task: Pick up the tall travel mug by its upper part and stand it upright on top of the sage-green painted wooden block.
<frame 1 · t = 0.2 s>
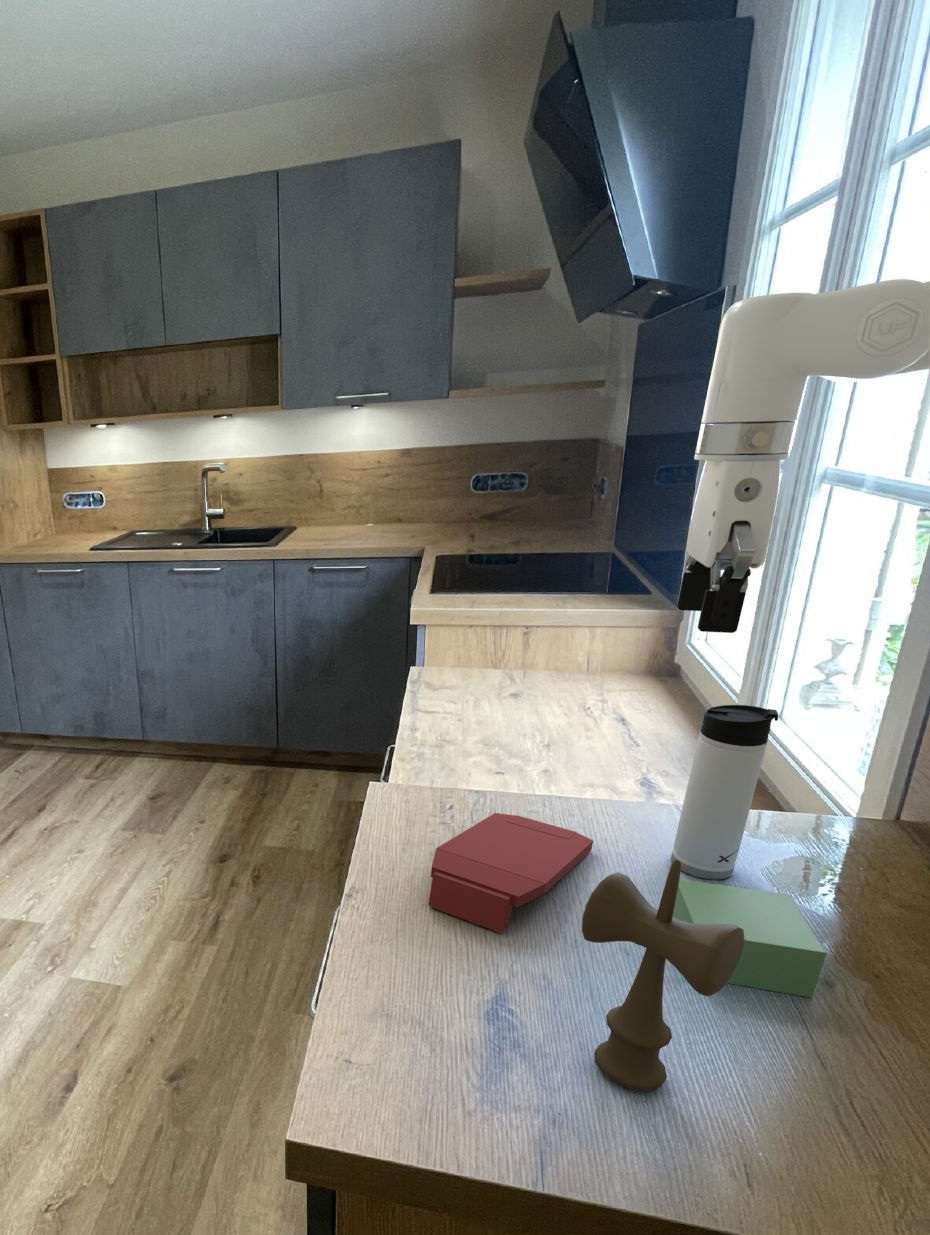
hand: (704, 620, 81), 30 cm above the countertop, tool pointing down, fingers open, 9 cm apart
green block: (733, 955, 78), on the countertop
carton: (507, 874, 94), on the countertop
travel mug: (702, 868, 93), on the countertop
kendama: (627, 1073, 65), on the countertop
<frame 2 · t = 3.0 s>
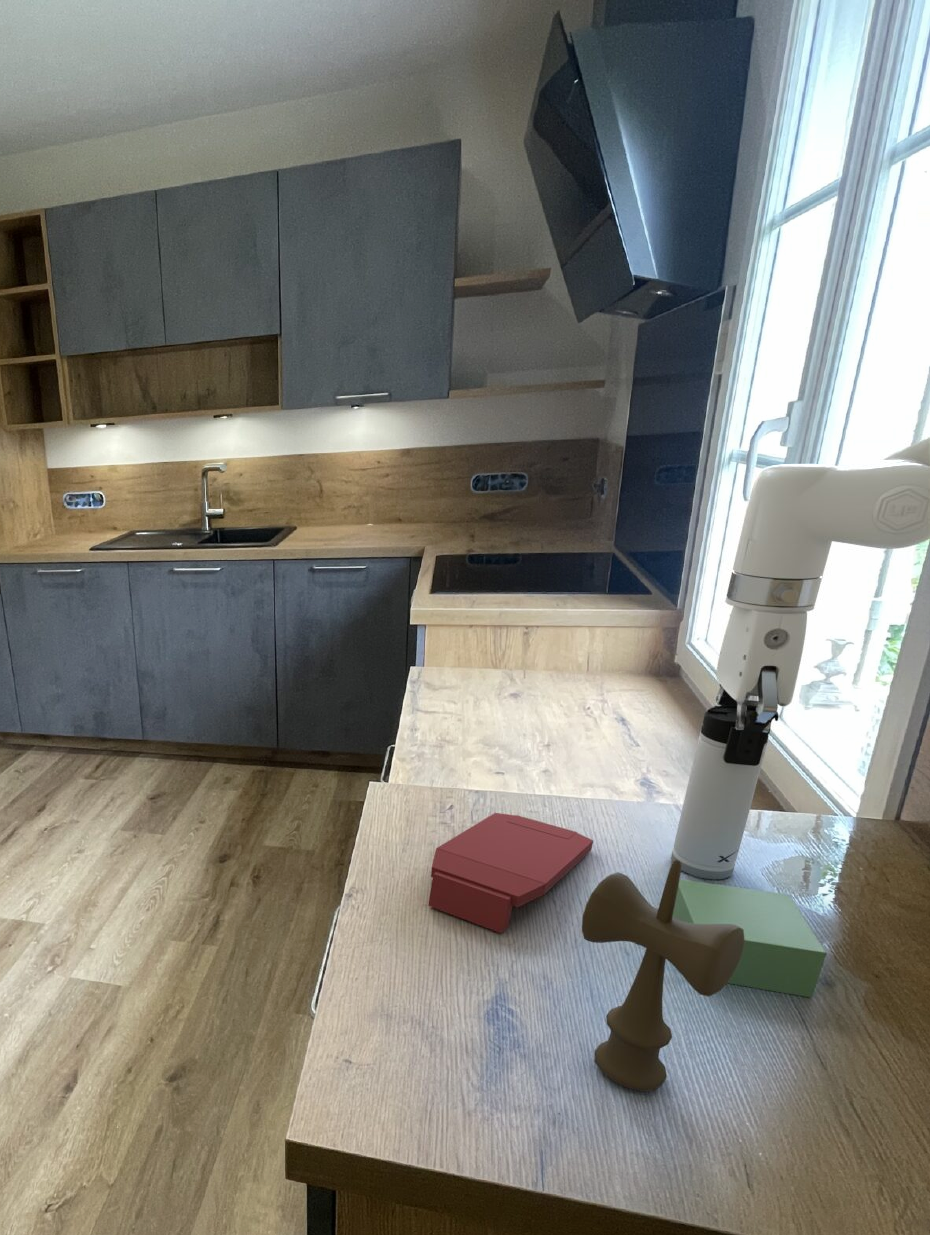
hand: (731, 750, 88), 15 cm above the countertop, tool pointing down, fingers closed on travel mug, 6 cm apart
travel mug: (702, 868, 93), on the countertop, touching gripper
everything else where it was.
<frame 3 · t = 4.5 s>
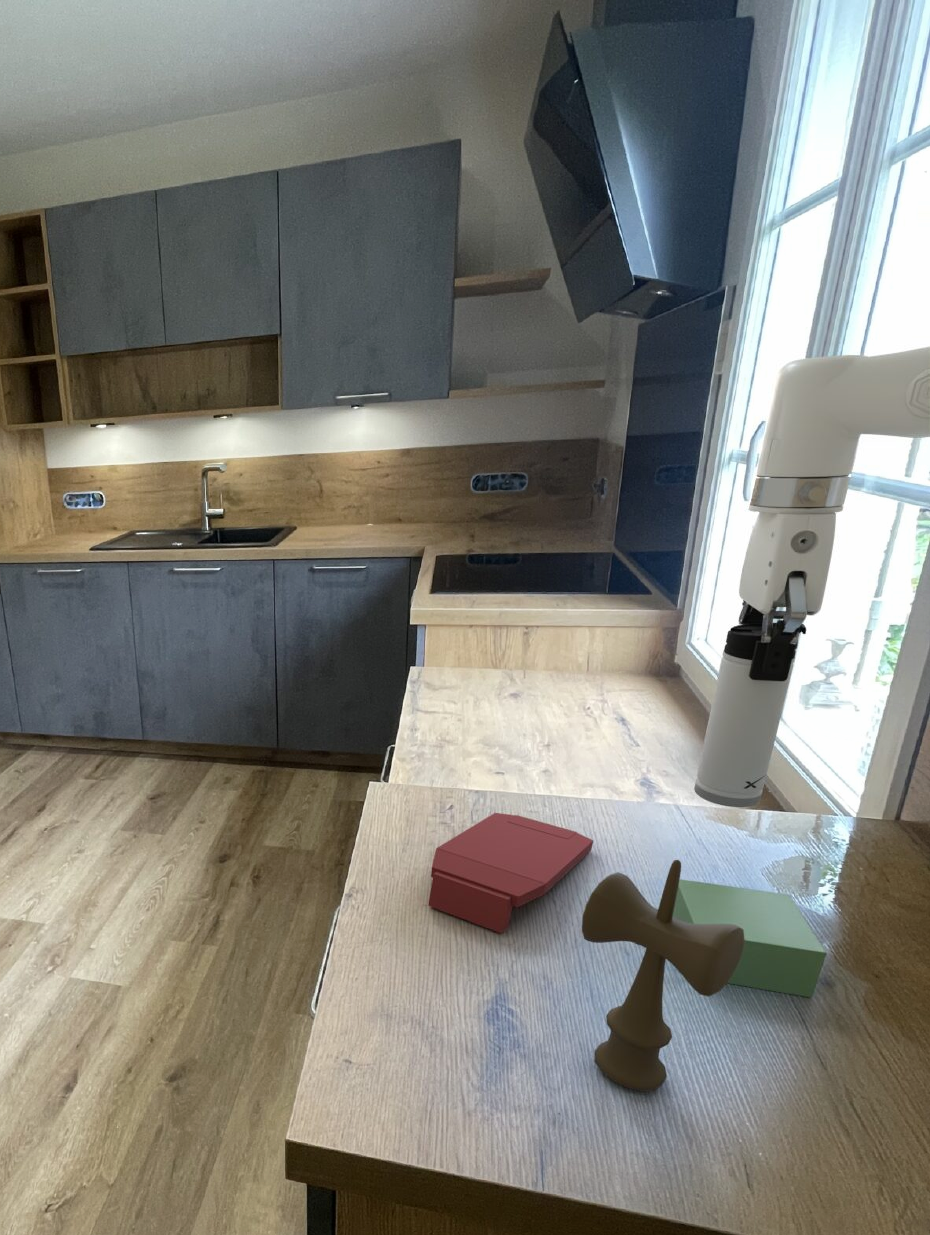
hand: (757, 668, 84), 25 cm above the countertop, tool pointing down, fingers closed on travel mug, 6 cm apart
travel mug: (727, 797, 89), point 9 cm above the countertop, touching gripper
everything else where it was.
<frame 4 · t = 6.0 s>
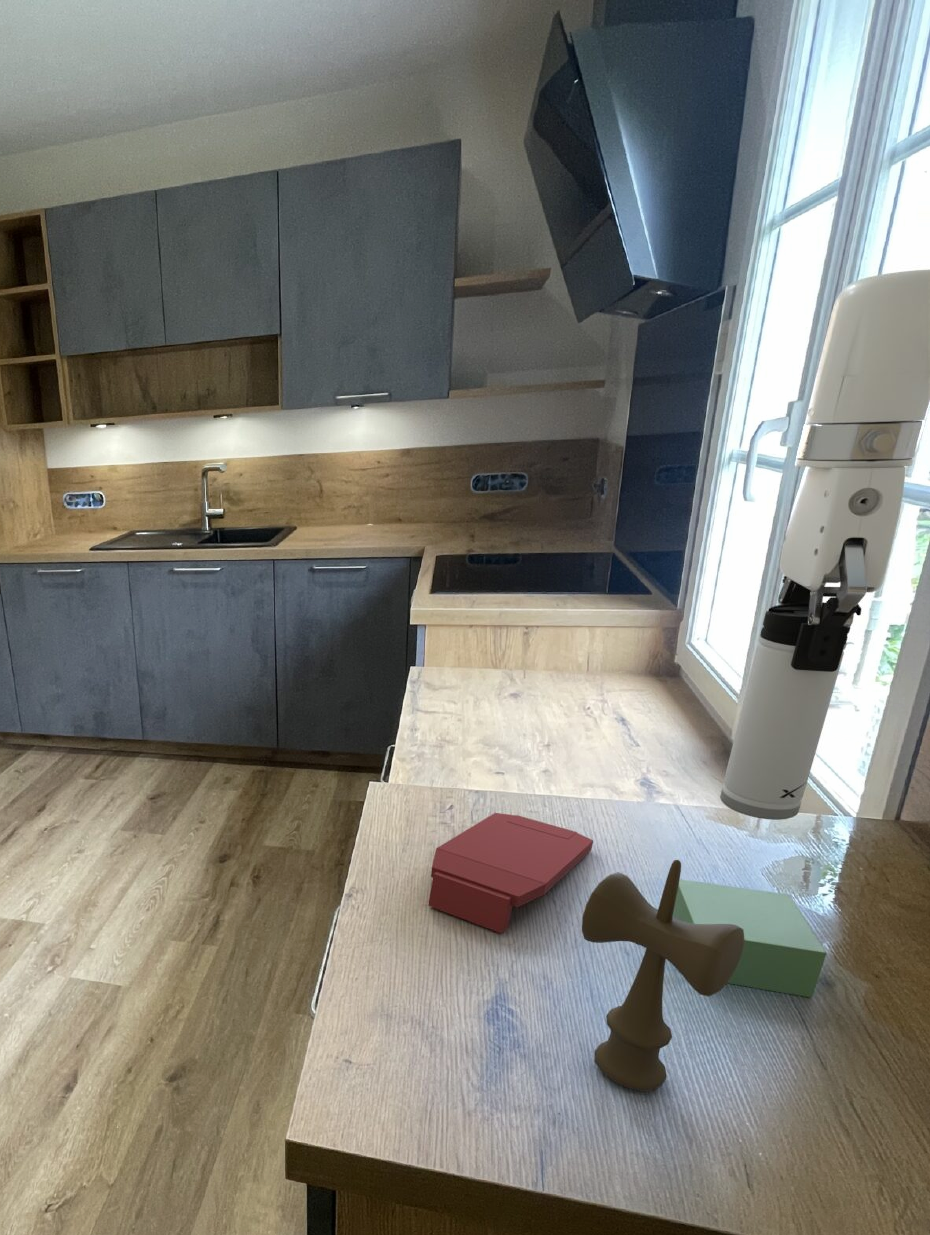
hand: (800, 657, 71), 29 cm above the countertop, tool pointing down, fingers closed on travel mug, 6 cm apart
travel mug: (759, 808, 77), point 14 cm above the countertop, touching gripper
everything else where it was.
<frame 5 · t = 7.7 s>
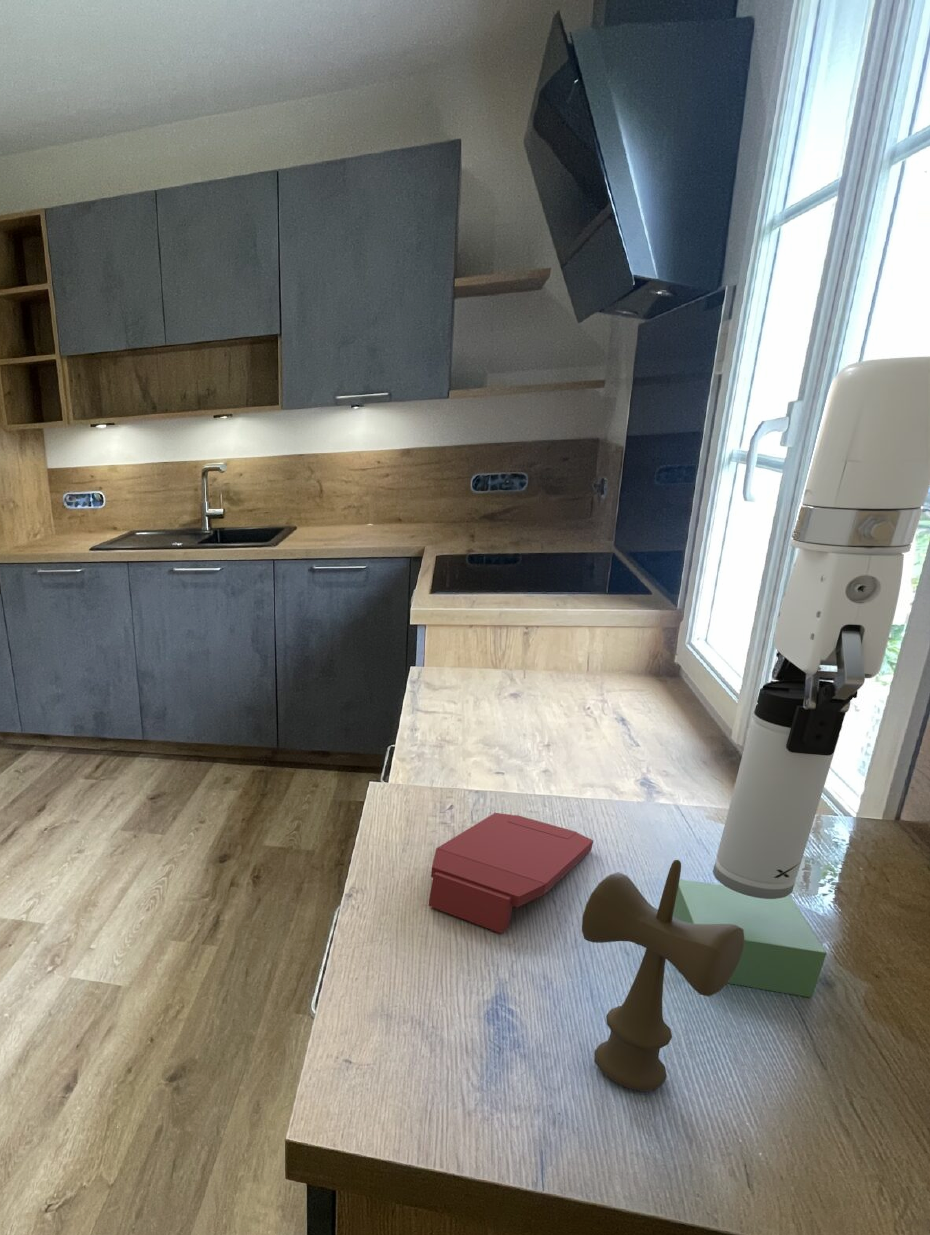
hand: (794, 736, 69), 23 cm above the countertop, tool pointing down, fingers closed on travel mug, 6 cm apart
travel mug: (752, 884, 75), point 8 cm above the countertop, touching gripper
everything else where it was.
when the fingers open (20 cm above the countertop, at t = 9.1 s): travel mug stays where it is, resting on green block.
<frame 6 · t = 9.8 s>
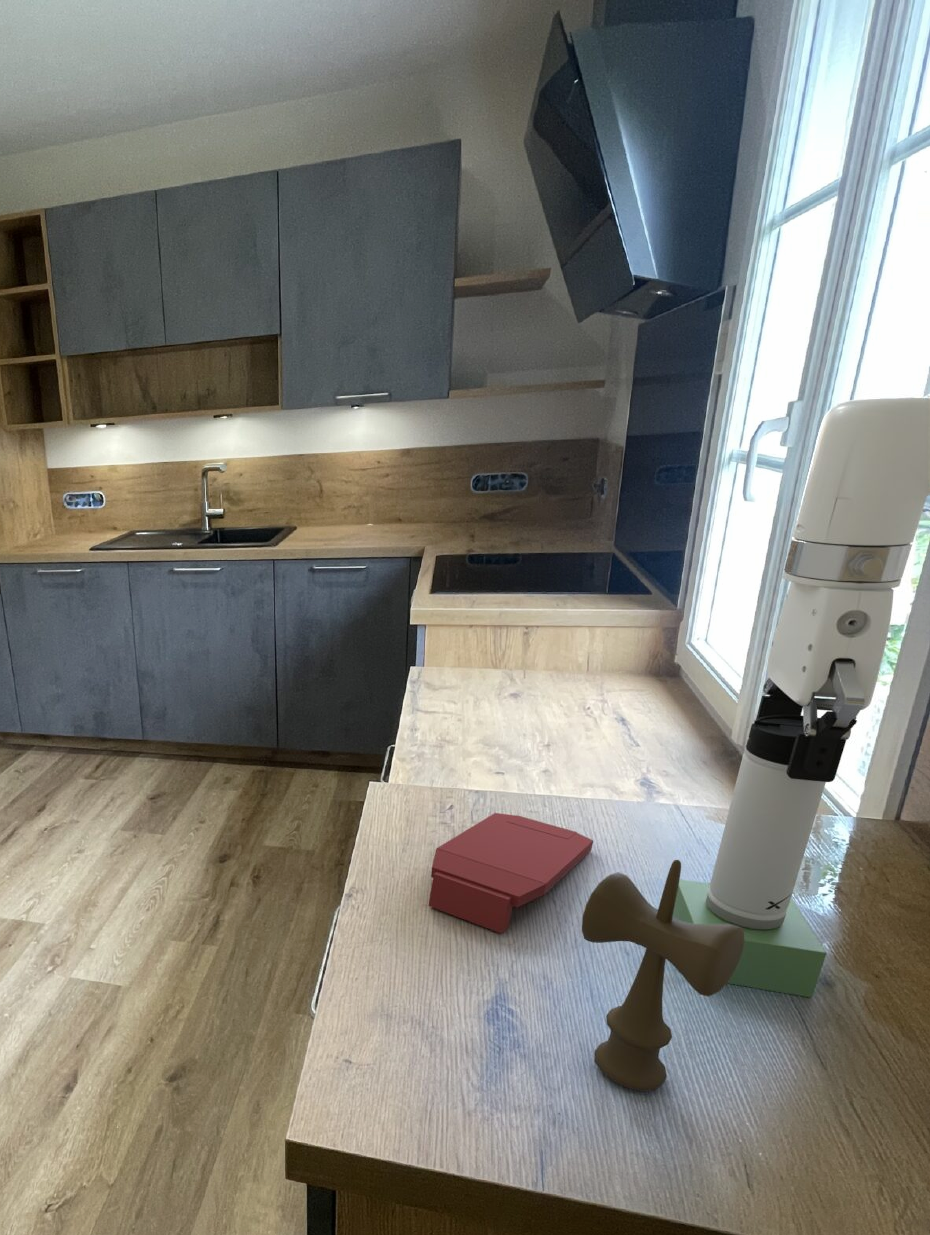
hand: (789, 757, 70), 21 cm above the countertop, tool pointing down, fingers open, 9 cm apart
green block: (733, 955, 78), on the countertop, touching travel mug
travel mug: (745, 914, 76), point 5 cm above the countertop, touching green block
everything else where it was.
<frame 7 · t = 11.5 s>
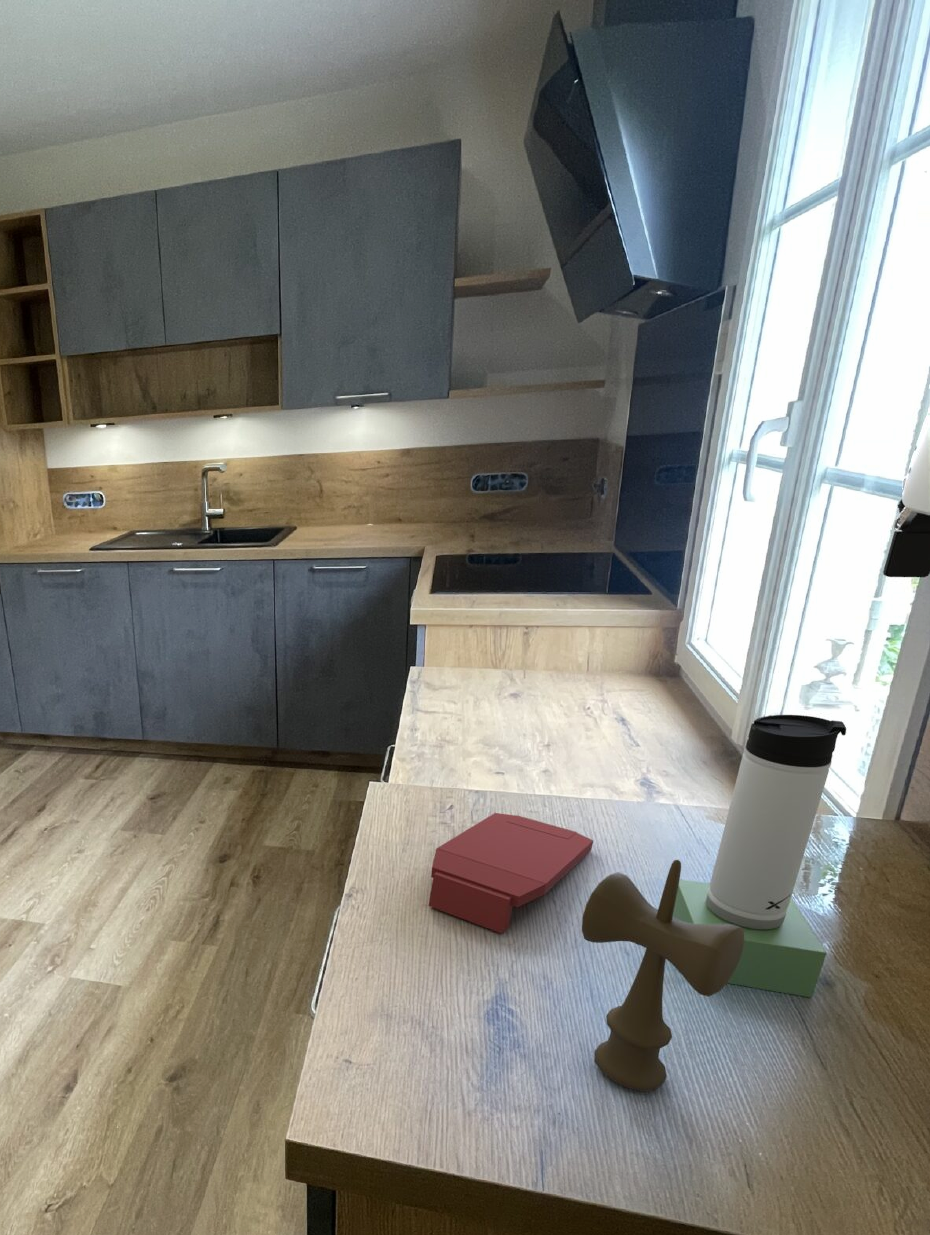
nothing on the countertop moved.
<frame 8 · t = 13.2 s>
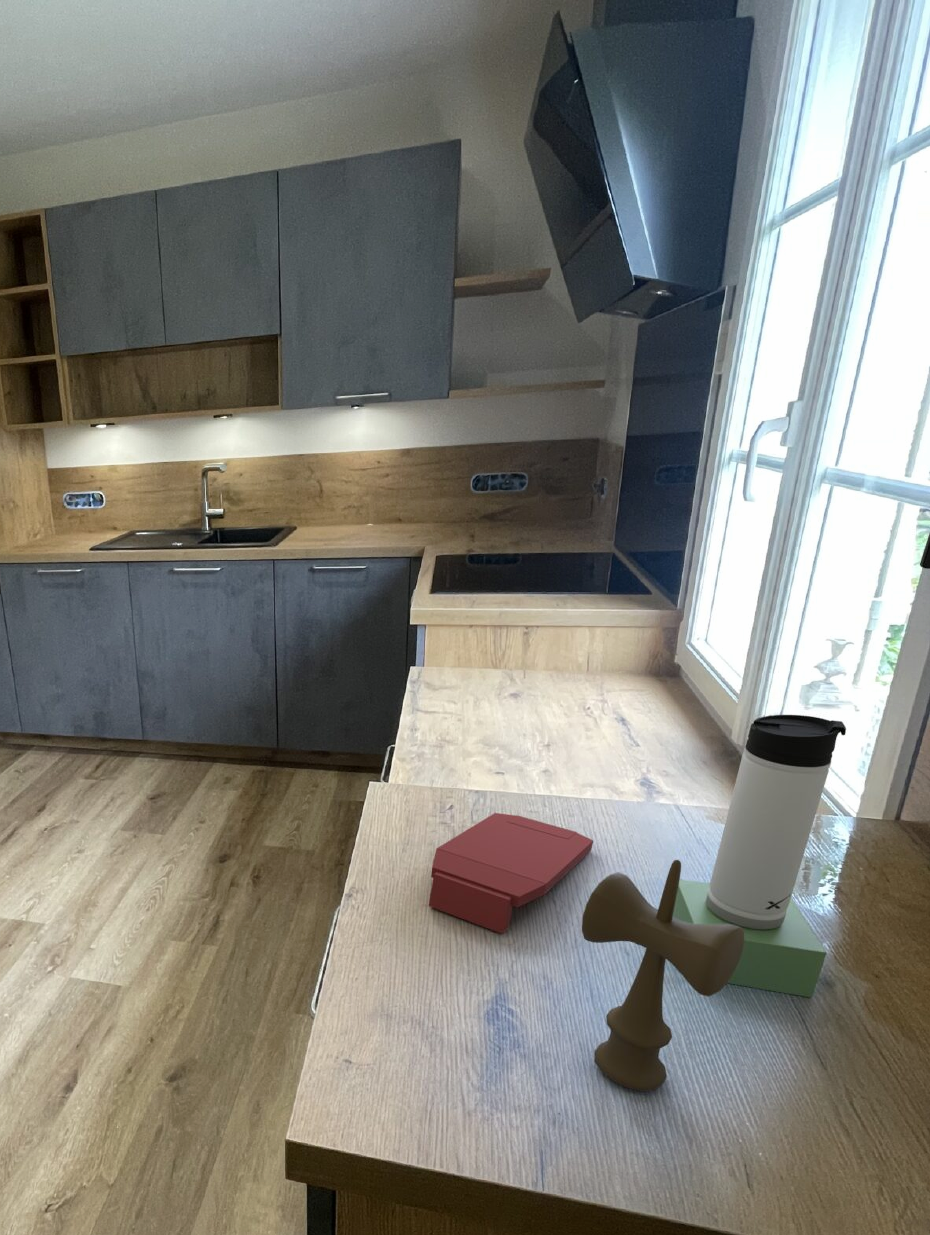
nothing on the countertop moved.
at the end: travel mug 0.0 cm off-centre on the green block, point 4.8 cm above the green block's base; travel mug tilted 0°; travel mug touching green block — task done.
